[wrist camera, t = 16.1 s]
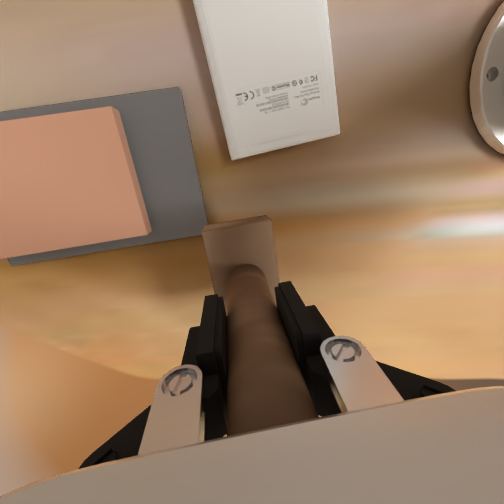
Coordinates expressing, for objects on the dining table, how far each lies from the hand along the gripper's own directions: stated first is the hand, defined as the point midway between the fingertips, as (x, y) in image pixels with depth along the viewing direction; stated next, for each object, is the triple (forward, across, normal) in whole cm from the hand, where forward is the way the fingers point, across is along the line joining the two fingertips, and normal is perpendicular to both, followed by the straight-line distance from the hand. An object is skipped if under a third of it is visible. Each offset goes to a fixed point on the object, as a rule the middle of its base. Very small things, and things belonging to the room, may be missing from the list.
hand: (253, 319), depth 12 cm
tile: (+9, +6, -7) cm, 13 cm away
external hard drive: (+11, -4, -14) cm, 18 cm away
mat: (+10, +10, -7) cm, 16 cm away
